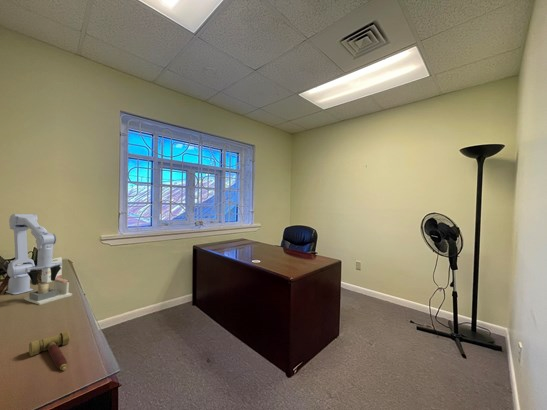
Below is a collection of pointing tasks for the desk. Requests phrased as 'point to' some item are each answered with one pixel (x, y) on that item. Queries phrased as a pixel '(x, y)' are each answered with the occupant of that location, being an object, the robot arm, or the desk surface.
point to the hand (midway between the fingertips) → (43, 282)
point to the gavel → (52, 348)
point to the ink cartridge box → (47, 272)
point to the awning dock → (51, 293)
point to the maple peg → (43, 288)
